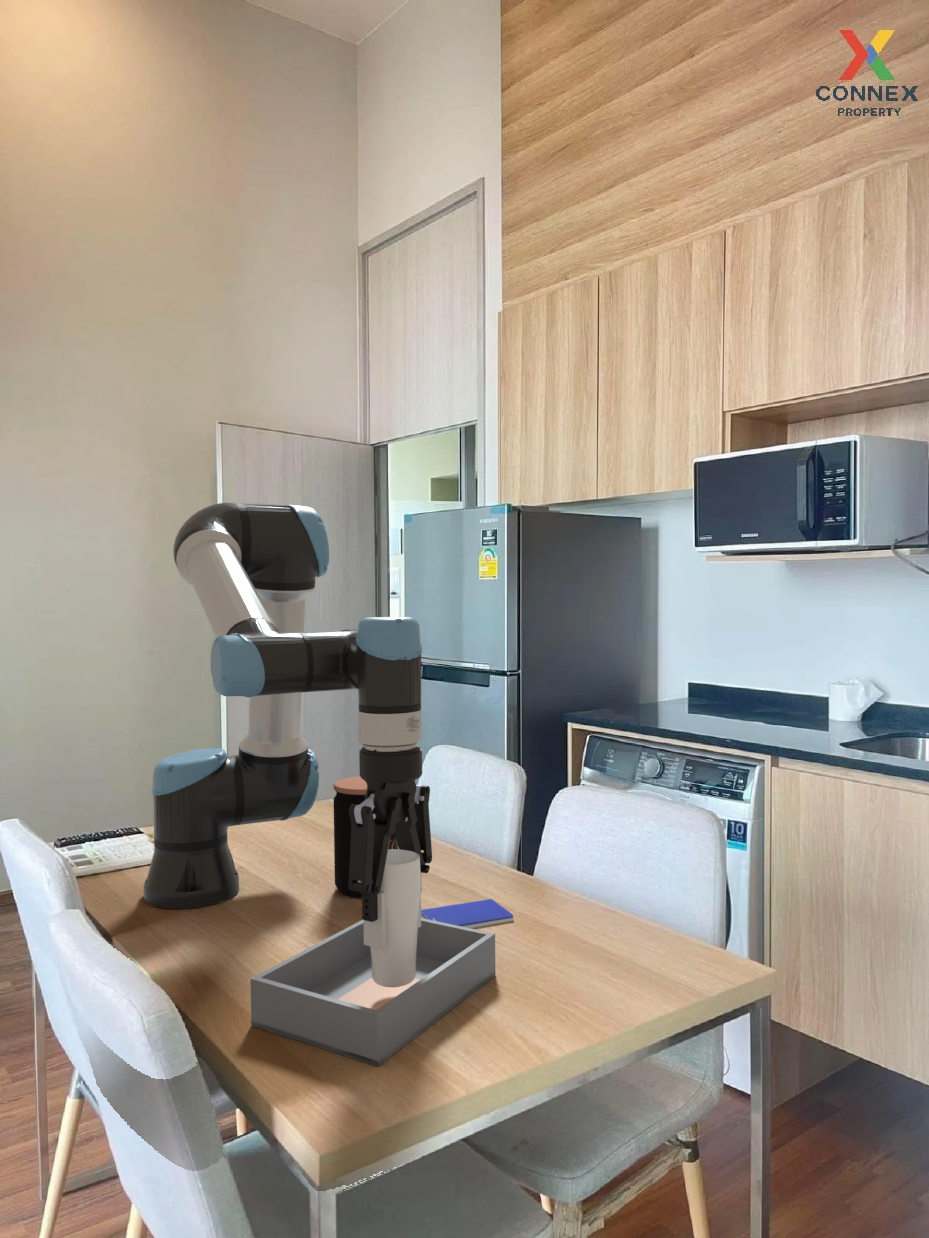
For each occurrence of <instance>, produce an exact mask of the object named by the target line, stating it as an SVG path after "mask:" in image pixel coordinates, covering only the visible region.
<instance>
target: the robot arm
mask: <svg viewBox="0 0 929 1238" xmlns="http://www.w3.org/2000/svg"><path fill="white" fill-rule="evenodd" d="M329 545H330V543H329V537H328V533H327V529H326V526H325V524H324V521H323V520H322V517H321V515H320V514H319V513H318V512H317V511H316V510H315V509H314V508H312V507H310V506H306V505H305V506H304V505H295V504H287V503H237V502H221V503H216V504H211V505H209V506H207V507H203V508H202V509H200V510H198V511H196V512H195V513H194V514H192V515H191V516H190V517H189V518H187V520H186V521H185V522H183V525H182V526H181V527H180V529H179V530H178V532H177V534H176V536H175V539H174V543H173V560H174V563H175V565H176V569H177V570H178V573H179V574H180V576H181V578H182V579H183V580H184V582H186V583H188V584H190V585H191V586H193V589H194V592H195V594H196V595H197V597H198V600H199V602H200V604H201V607H202V609H203V612H204V613H205V616H206V618H207V620H208V622H209V624H210V626H211V627H210V628H211V629H212V631H213V633H214V635H215V637H216V638H215V639H214V640H213V643H212V645H211V650H210V675H211V677H212V678H211V679H212V685H213V687H214V690H215V691H216V692H217V693H218V694H219V695H221V696H223V697H243V698H249V701H248V703H249V705H248V706H249V707H248V710H249V711H248V733H247V734H246V735H245V736H244V737H243V738H242V739H241V740H240V741H239V743H238V754H237V755H229V756H228V754H227V752H226V750H225V749H224V748H221V747H208V748H197V749H191V750H187V751H184V752H179V753H176V754H172V755H169V756H167V757H165V758H163V759H161V760H160V761H159V762H158V763H157V764H156V765H155V766H154V768H153V774H152V778H153V779H152V788H151V794H152V795H153V796H152V799H153V805H152V806H153V843H154V844H153V846H154V847H153V854H152V858H151V861H150V864H149V865H150V866H149V869H148V873H147V878H146V879H145V882H144V884H143V900H144V902H145V903H146V904H148V905H150V906H153V907H157V908H161V909H177V910H178V909H192V908H193V909H195V908H199V907H201V908H202V907H207V906H211V905H214V904H218V903H221V902H224V901H227V900H229V899H231V898H233V897H234V896H236V895H237V894H238V893H239V890H240V876H239V873H238V870H236V866H235V863H234V862H235V861H234V859H233V856H232V852H231V850H230V847H229V844H228V828H229V827H234V826H241V825H248V824H249V825H250V824H259V823H265V822H267V823H268V822H274V821H286V820H288V819H291V818H293V819H294V818H298V817H302V816H304V815H306V814H307V813H308V812H309V811H310V810H311V809H312V808H313V806H314V804H315V801H316V800H317V795H318V791H319V785H320V784H319V783H320V772H319V762H318V757H317V755H316V753H315V752H314V751H313V750H312V749H310V748H309V743H308V741H307V740H306V739H305V738H304V737H303V735H301V734H300V733H301V732H300V731H301V710H302V708H301V707H302V693H313V692H314V693H316V692H328V691H329V692H332V691H334V692H335V691H344V690H345V691H347V690H349V691H350V690H358V691H357V692H358V742H359V743H360V744H361V745H362V747H361V748H360V749H359V751H358V752H359V755H358V756H359V758H358V759H359V763H358V764H359V776H360V777H361V778H362V779H363V780H365V782H366V783H367V791H366V795H365V801H364V802H362V803H361V804H360V805H355V804H352V805H351V806H350V807H349V815H350V820H351V843H350V864H349V884H348V887H349V889H350V890H353V891H358V892H361V895H362V898H361V917H362V920H363V924H364V945H367V946H371V947H376V948H380V949H384V948H385V947H386V892H384V891H380V890H381V885H382V879H383V874H384V868H385V863H386V857H387V852H388V846H389V841H390V836H391V835H392V834H394V832H395V835H396V839H397V843H398V849H400V850H408V851H413V852H415V853H417V854H418V855H419V856H420V868H421V874H422V873H423V874H428V873H429V872H430V868H431V867H430V866H431V865H428V864H431V863H432V860H433V851H432V850H433V848H432V835H431V823H430V808H429V803H430V795H431V788H430V785H422V784H417V783H416V780H418V779H420V778H421V777H422V774H423V749H422V748H421V746H419V745H418V744H419V743H420V742H422V740H423V739H422V736H423V735H422V725H423V724H422V654H423V653H422V651H423V645H422V643H421V629H420V624H419V621H418V620H417V619H416V618H414V617H410V616H403V617H402V616H376V617H375V616H374V617H373V616H371V617H365V618H362V619H360V621H359V622H358V624H357V629H355V628H354V629H341V630H340V631H317V632H305V615H306V611H305V610H306V598H307V597H308V596H309V595H310V594H311V593H312V592H314V590H315V589H316V579H317V578H321V577H322V576H325V574H327V571H328V567H329V565H330V546H329ZM376 823H377V824H379V825H386V826H385V827H382V826H376ZM372 881H373V883H372ZM421 893H422V889H421ZM421 910H422V894H421V895H420V910H419V923H418V928H419V927H421Z"/></svg>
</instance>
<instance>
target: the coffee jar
mask: <svg viewBox="0 0 929 1238" xmlns="http://www.w3.org/2000/svg"><path fill="white" fill-rule="evenodd" d="M332 785H333V790H334V791H335V792H336V794H335V796H334V798H333V838H334V839H333V842H334V843H333V848H334V849H333V850H334V851H333V855H334V858H333V859H334V863H333V864H334V886H335V888H336V889H337V891H338V892H339V894H340V895H343V896H344V897H347V898H351V899H362V895H361V892H358V891H353V890H350V889H349V887H348V884H349V864H350V843H351V820H350V815H349V807H350V806H351V805H352V804H355V805H360V804H361V803H362V802H364V801H365V795H366V791H367V783H366V782H365V780H363V779H362V778H361V777H360V775H359V776H351V777H346V778H341V779H338V780H336V781H334V783H333V784H332ZM376 826H382V827H385V826H386V825H379V824H377V823H376ZM391 849H399V847H398V843H397V839H396V835H395V832H394V834H392V835H391V836H390V841H389V846H388V850H391Z"/></svg>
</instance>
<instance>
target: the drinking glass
mask: <svg viewBox="0 0 929 1238" xmlns="http://www.w3.org/2000/svg"><path fill="white" fill-rule="evenodd" d="M372 883H373V881H372ZM421 890H422V873H421V868H420V856H419V855H418V854H417V853H415V852H413V851H408V850H400V849H399V848H398V849H391V850H388V852H387V857H386V863H385V868H384V874H383V879H382V885H381V890H380V891H384V892H386V947H385V948H384V949H380V948H376V947H371V946H370V951H371V962H372V979H373V981H374V982H375V983H376V984H378V985H380V986H383V987H401V986H405V985H407V984H409V983H411V982H412V981H413V980H414V979H415V976H416V952H417V937H418V923H419V910H420V895H421V896H422V892H421Z"/></svg>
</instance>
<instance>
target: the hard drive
mask: <svg viewBox="0 0 929 1238" xmlns="http://www.w3.org/2000/svg"><path fill="white" fill-rule="evenodd" d="M421 918H424V919H428V920H433V921H438V922H443V923H447V924H452V925H457V926H461V927H466V928H471V929H475V928H481V927H485V926H493V925H497V924H502V923H508V922H514V915H513V914H512V912H510V911H509V910H507V909H506V908H505V907H503V906H502V905H501V904H499V903H498V902H496V901H495V900H494V899H492V898H487V899H483V900H476V901H470V902H464V903H457V904H456V903H455V904H450V905H445V906H437V907H431V908H430V907H429V908H424V909H421Z"/></svg>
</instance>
